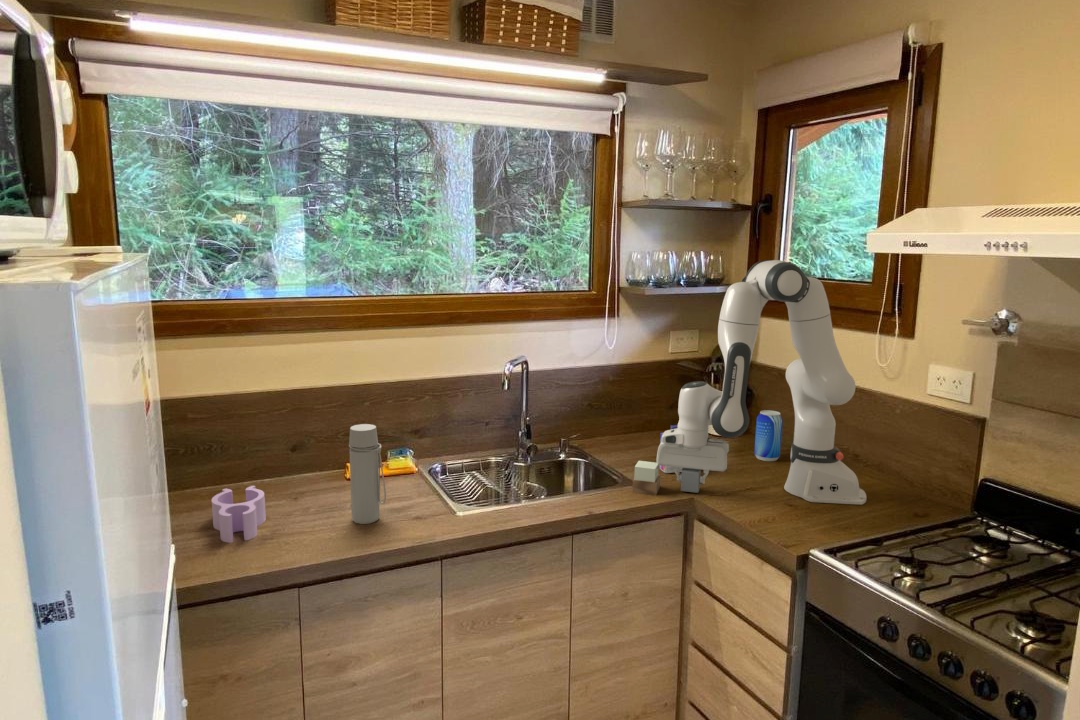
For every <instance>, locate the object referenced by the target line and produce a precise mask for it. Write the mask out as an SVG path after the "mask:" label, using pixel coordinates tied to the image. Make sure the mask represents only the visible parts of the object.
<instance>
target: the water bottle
mask: <svg viewBox="0 0 1080 720" xmlns="http://www.w3.org/2000/svg"><path fill="white" fill-rule="evenodd" d="M377 431H378V429H377V425H375V424H369V423H361V424H354V425H352V426H350V428H349V437H348V438H349V440H348V447H349V449H348V450H349V452H348V453H349V474H350V478H349V480H350V501H351V502H350V506H351V520H352V521H353V522H354V523H355V524H359V525H369V524H373V523H376V522H377V521H379V518H380V516H381V515H380V514H381V511H380V510H381V509H380V504H381V505H382V504H383V505H385V503H386V499H387V491H386V490H387V489H386V483H385V477H384V476H385V475H384V470H383V462H382V456H381V453H382V444H381V443H379V440H378V439H379V438H378V432H377ZM381 478H382V484H383V493H384V498H383V499H384V500H383V501H382V499H381Z"/></svg>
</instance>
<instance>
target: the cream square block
mask: <svg viewBox="0 0 1080 720" xmlns="http://www.w3.org/2000/svg"><path fill="white" fill-rule="evenodd" d="M659 469H660V465H658V463H657V462H656V461H655V462H654V461H645V460H638V461H637V463H636V464H635V466H634V475H633V476H634V477H633V479H634V480H640V481H648V482H655V481H656V479H657V477H658V475H659Z"/></svg>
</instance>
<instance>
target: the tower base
mask: <svg viewBox="0 0 1080 720" xmlns="http://www.w3.org/2000/svg"><path fill="white" fill-rule="evenodd" d="M661 478H662V477H661V474H658V477H657V479H656V481H655V482H648V481H640V480H634V478H633V479H632V493H637V494H642V495H643V494H645V495H652V496H657V495H658V493H659V490H660V488H661Z"/></svg>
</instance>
